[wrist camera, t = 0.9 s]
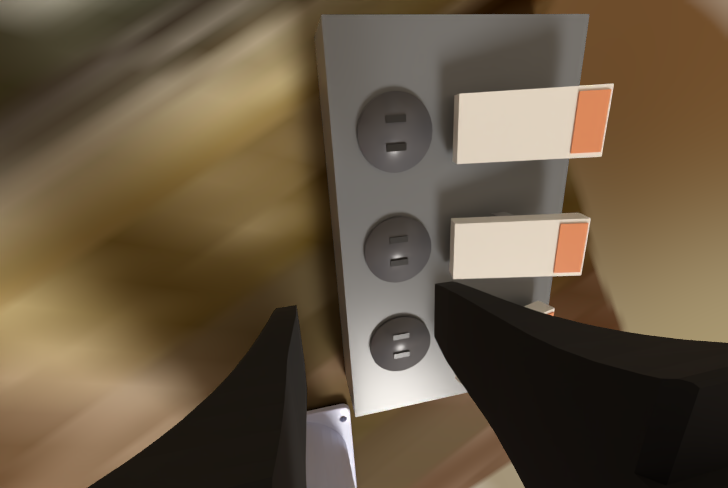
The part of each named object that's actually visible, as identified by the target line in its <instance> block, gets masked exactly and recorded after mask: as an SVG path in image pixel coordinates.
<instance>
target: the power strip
mask: <svg viewBox="0 0 728 488" xmlns="http://www.w3.org/2000/svg"><path fill="white" fill-rule="evenodd" d="M588 21H589V14H385V15H321V17H320V20H319V23H318V27H317V30H316V33H315V36H314V40H315V51H316V61H317V72H318V83H319V94H320V104H321V115H322V126H323V137H324V147H325V158H326V169H327V180H328V191H329V201H330V212H331V223H332V234H333V244H334V255H335V266H336V277H337V287H338V298H339V309H340V320H341V330H342V341H343V352H344V363H345V373H346V379H347V383H348V388H349V392H350V396H351V400H352V404H353V408H354V413H355V417H358V416H363V415H367V414H372V413H376V412H381V411H385V410H390V409H394V408H399V407H403V406H408V405H412V404H417V403H421V402H426V401H431V400H435V399H440V398H444V397H449V396H453V395H458V394H462V393H467V391H466V389H465V388H464V386H463V385H462V384H460V383H459V382H458V381H457V380H456V379H455V373H454V372H453V370H452V369H451V367H450V366H449V364H448V363H447V361H446V359H445V357H444V355H443V354H442V352H441V350H440V348H439V346H438V343H437V341H436V339H435V337H434V311H435V284H437V283H443V282H450V281H454V282H458V283H461V284H464V285H467V286H470V287H472V288H475V289H478V290H480V291H483V292H485V293H488V294H491V295H493V296H496V297H498V298H501V299H504V300H506V301H509V302H512V303H515V304H518V305H520V306H526V305H528V304H531V303H533V302H536V301H540V302H542V303H545V304H547V305H549V298H550V290H551V283H552V276H540V277H508V278H475V279H453V278H452V276H451V273H450V271H449V263H450V229H451V218H467V217H491V216H514V215H538V214H561V212H562V205H563V198H564V191H565V184H566V177H567V170H568V163H569V158H564V159H545V160H526V161H507V162H487V163H468V164H456V163H454V162H452V160H453V126H454V95H457V94H462V93H478V92H493V91H508V90H523V89H539V88H554V87H569V86H579V85H580V78H581V71H582V64H583V57H584V49H585V42H586V35H587V28H588Z"/></svg>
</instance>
